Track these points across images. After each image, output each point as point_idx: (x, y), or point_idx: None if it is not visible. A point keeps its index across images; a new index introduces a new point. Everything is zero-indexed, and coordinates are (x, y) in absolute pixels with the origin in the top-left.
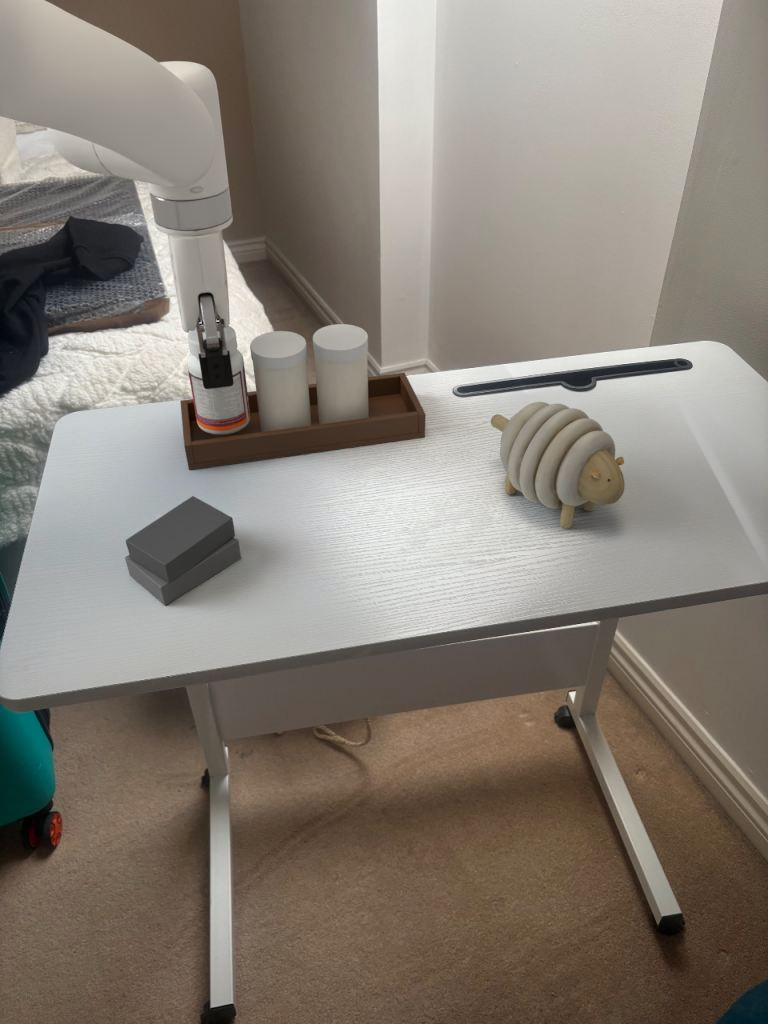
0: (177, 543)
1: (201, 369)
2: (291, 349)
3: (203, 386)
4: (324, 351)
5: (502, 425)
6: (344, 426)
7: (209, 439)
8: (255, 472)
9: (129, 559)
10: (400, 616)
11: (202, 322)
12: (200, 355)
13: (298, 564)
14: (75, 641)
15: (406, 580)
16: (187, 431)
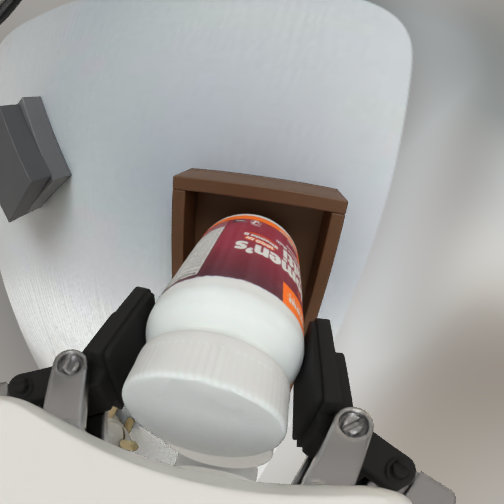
0: None
1: (109, 320)
2: (187, 450)
3: (168, 284)
4: (184, 461)
5: (122, 444)
6: None
7: (182, 223)
8: (162, 258)
9: (19, 103)
10: (13, 294)
11: (315, 426)
12: (90, 354)
13: (36, 253)
14: (8, 69)
15: (34, 313)
16: (221, 189)
